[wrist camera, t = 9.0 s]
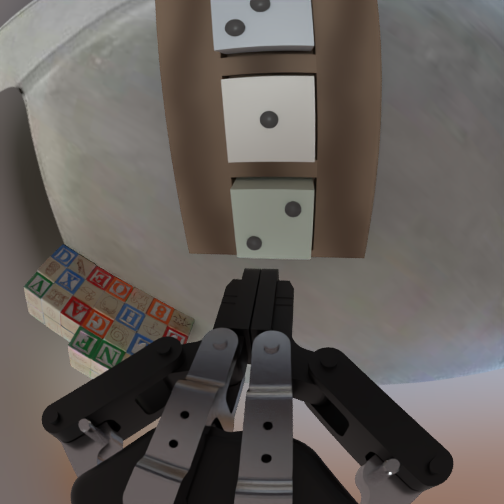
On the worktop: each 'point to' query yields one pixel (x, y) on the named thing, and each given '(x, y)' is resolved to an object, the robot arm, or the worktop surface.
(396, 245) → the worktop surface
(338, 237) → the key panel
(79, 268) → the stack of blocks
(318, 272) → the worktop surface
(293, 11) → the key
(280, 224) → the key
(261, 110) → the key
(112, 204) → the worktop surface
